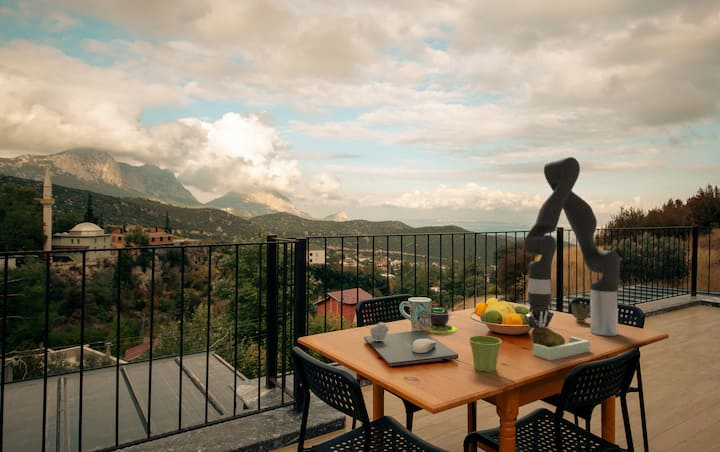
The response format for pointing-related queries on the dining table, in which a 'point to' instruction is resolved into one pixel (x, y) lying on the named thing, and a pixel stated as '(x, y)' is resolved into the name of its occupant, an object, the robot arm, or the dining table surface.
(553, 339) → the olive green oval lump
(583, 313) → the cup
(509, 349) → the dining table surface
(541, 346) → the corral
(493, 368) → the plant pot
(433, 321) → the toy cauldron
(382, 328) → the grey rough lump
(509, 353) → the dining table surface
